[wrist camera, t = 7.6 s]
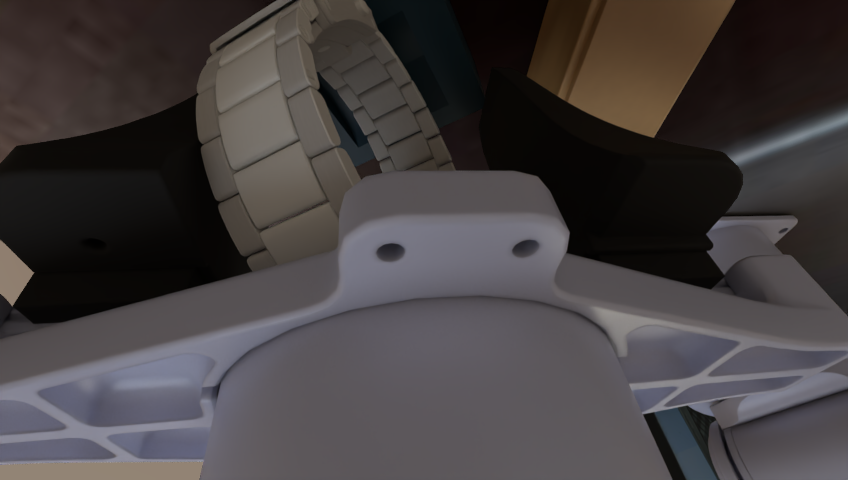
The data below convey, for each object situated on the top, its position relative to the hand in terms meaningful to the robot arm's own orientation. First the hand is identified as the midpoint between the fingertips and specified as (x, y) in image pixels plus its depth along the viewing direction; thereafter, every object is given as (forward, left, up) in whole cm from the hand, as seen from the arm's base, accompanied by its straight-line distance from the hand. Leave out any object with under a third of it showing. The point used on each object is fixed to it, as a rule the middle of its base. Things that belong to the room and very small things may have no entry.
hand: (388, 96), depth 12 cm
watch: (0, 0, -3) cm, 4 cm away
